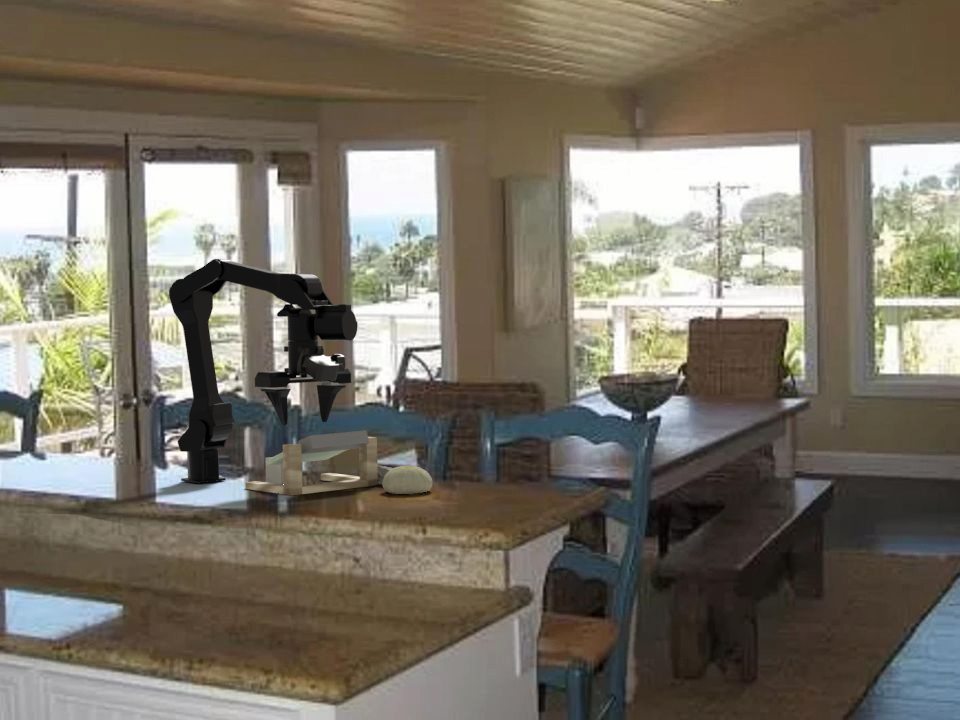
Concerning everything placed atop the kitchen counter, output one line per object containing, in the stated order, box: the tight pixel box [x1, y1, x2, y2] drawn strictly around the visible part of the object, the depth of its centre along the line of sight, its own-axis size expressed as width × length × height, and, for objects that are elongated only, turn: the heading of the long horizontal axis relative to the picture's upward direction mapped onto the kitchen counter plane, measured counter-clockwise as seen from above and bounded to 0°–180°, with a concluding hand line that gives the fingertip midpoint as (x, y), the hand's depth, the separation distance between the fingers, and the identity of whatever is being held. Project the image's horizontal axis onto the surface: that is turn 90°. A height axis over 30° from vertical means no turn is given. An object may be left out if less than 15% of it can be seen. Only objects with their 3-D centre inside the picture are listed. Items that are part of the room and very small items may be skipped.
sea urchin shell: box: [382, 465, 433, 495], centre depth 282 cm, size 9×8×8 cm
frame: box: [245, 436, 379, 496], centre depth 291 cm, size 15×20×9 cm
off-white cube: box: [264, 456, 284, 485], centre depth 298 cm, size 5×5×5 cm
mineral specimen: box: [377, 463, 394, 486], centre depth 294 cm, size 6×12×4 cm, turn 39°
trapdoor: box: [264, 430, 369, 467], centre depth 290 cm, size 15×14×2 cm
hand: (304, 423), depth 292 cm, fingers open, 9 cm apart
